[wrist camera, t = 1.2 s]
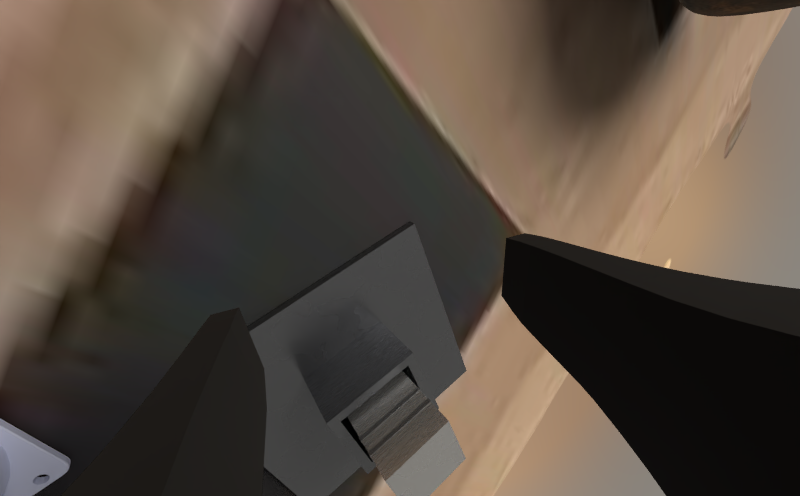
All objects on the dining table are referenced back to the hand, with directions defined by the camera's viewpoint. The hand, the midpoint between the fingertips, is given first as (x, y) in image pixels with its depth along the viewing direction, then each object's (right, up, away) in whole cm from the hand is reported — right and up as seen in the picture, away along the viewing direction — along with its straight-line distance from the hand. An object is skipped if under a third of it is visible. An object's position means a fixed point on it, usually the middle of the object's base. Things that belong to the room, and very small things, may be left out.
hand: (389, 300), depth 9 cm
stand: (-3, -7, +15) cm, 17 cm away
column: (-3, -7, +15) cm, 17 cm away
